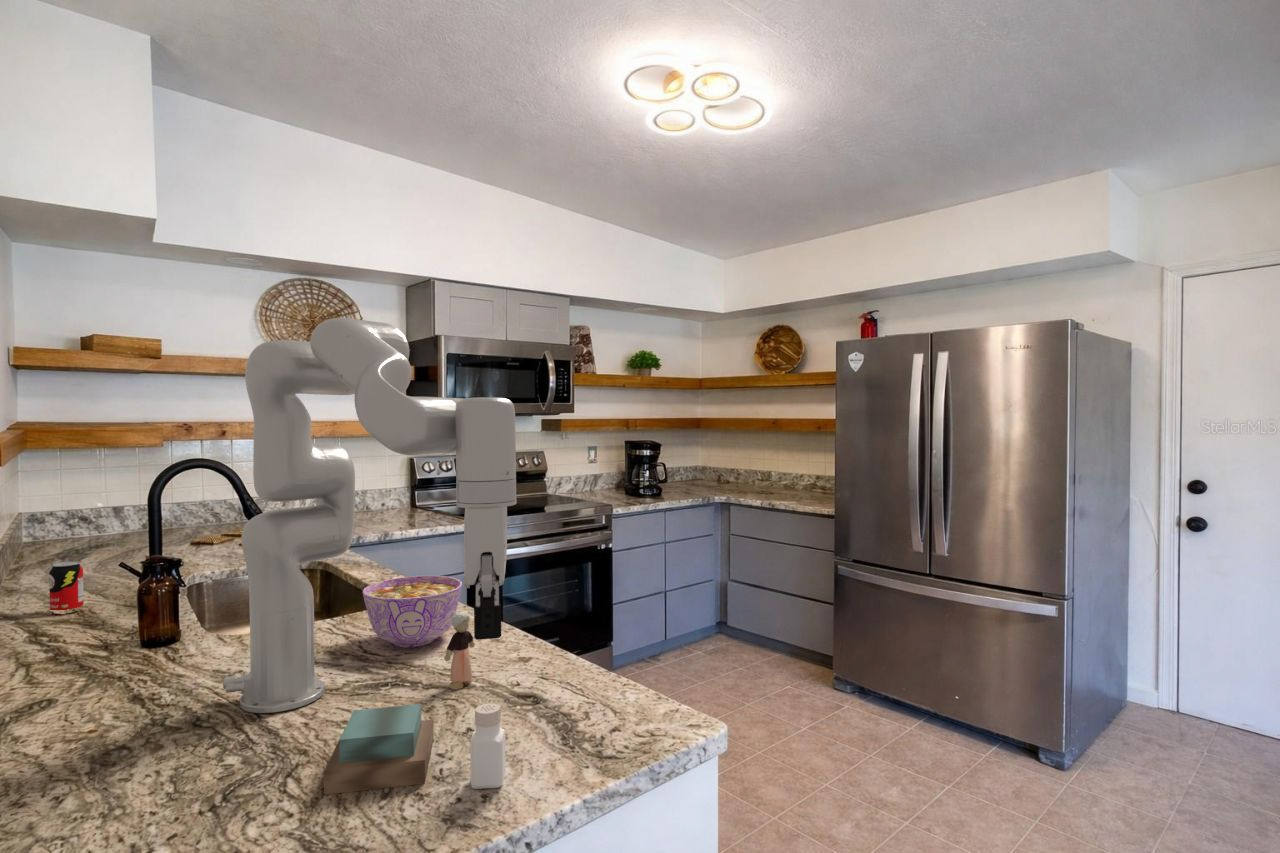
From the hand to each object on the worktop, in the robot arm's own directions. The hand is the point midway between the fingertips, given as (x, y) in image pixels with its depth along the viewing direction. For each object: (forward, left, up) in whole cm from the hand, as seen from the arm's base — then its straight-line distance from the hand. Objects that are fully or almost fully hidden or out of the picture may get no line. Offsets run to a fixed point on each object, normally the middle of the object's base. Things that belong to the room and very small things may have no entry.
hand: (488, 626), depth 87 cm
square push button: (-14, +7, -20) cm, 25 cm away
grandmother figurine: (-5, +34, -20) cm, 40 cm away
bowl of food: (-16, +60, -20) cm, 65 cm away
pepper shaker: (0, 0, -20) cm, 20 cm away
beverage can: (-102, +102, -20) cm, 146 cm away
